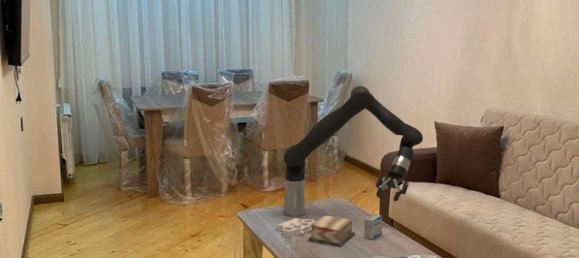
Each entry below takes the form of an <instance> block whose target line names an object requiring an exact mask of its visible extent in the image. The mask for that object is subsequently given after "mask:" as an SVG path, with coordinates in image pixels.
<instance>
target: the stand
mask: <svg viewBox="0 0 579 258" xmlns="http://www.w3.org/2000/svg"><path fill="white" fill-rule="evenodd" d="M352 226H353V220H352V219H348V218H342V217H336V216H331V215H323V216H322V217H321V218H319V219H318V220H316V221H315V223H314V224H312V230H311V236H310V237H308V242H314V243H318V244H321V245H322V244H324V245H328V246H333V247H338V248H342V247H343V246H344V245H345V244H346V243H347V242H348V241H350V240H351V239H352V238H353V237H354V236H355V235H356V233H355V232H353V227H352Z"/></svg>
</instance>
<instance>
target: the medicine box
mask: <svg viewBox="0 0 579 258" xmlns="http://www.w3.org/2000/svg"><path fill="white" fill-rule="evenodd" d="M363 222H364V228H363V229H364V231H363V233H364V235H363V237H364V238H365V239H369V240H376V238H378V237H379V236H381V235H382V234H383V216H382V215H380V214H375V213H373V214H371V215H369V216H368V217H366V218H364V221H363ZM380 234H381V235H380Z"/></svg>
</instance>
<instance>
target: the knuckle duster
mask: <svg viewBox="0 0 579 258" xmlns="http://www.w3.org/2000/svg"><path fill="white" fill-rule="evenodd" d="M315 222H316V221H315V219H312V218H304V219H302V218H298V217H294V218H292V219H290V220H286V221H284V222H282V223H279V224H276V225H275V228H276V230H277V231H279V232H282V236H283V237H285V238H294V237H297V236H303V235H305V234H307V233H311V232H312V224H314V223H315Z"/></svg>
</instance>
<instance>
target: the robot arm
mask: <svg viewBox="0 0 579 258" xmlns="http://www.w3.org/2000/svg"><path fill="white" fill-rule="evenodd" d="M363 110H367V111H368V112H370V113H371V114H372V115H373V116H374V117H375V119H377V120H378V121H379V122H380V123H381V124H382V126H384V127H385V128H386V129H387V130H388V131H390V132H392V134H394V135H395V136H402V137H401V139H400V144H399V146H398V147H399V148H398V151H397V154H396V156H395V157H394V159H393V161H392V162H391V163H392V164H391V166H390V168H389V170H388V174H387V175H386V176H383V175H380V176H379V178H378V179H377V181H376V184H375V187H376V188H377V191H376V193H375V195H376V197H377V198H378V199H379V198H381V196H382V193H383V191H384V190H386V189H388V188H389V189H394V190H396V192H395V194H394V196H393V201H394V202H397V201H398V200H399V198H400V196H401V195H406V193H407V191H408V187H409V186H410V185H409V184H410V183H409V181H408V180H407V179H405V177H406V176H407V173H408V171H409V168H410V165H411V162H412V159H413V158H414V150H413V148H414V147H415V146H417V145H421V143H422V142H423V140H424V136H423V133H422V132H421V131H420V130H419V129H417V128H416V127H415V126H412V125H410V124H408V123H406V122H404V121H403V120H402V119H401V118H400V117H398V116H397V115H396V114H395V113H393V112H391V110H389V109H388V108H387V107H385V106H384V105H383V104H382V103H381V102H379V100H378V99H376V97H375V96H374V95H373V94H372V93H371V92H370V91H369V89H368V88H367V87H365V86H363V85H362V86H361V85H358V86H355V87H354V88H353V89H352V90H351V92H350V96H349V98H348V99H347V100H346V101H345V102H344V103H343V104H342V105H341V106H339V108H337V109H335V110H333V111H331V112H330V113H328V114H326V115H325V116H324V117H322V118H321V119H319V121H318V122H317V123H316V124H315V125H314V126H313V127H312V128H311V129H310V131H308V133H307V134H305V136H304V137H303V139H301V140H300V141H299V142H298V143H296V144H292V145H289V147H288V148H286V151H285V152H284V154H283V160H284V164H285V174H284V179H285V183H284V185H285V193H284V194H283V210H284V213H283V214H285V215H288V216H290V217H299V216H303V215H304V214H306V202H305V201H306V191H305V187H306V185H305V182H306V180H305V177H306V175H305V174H306V173H305V172H306V159H307V158H308V156H310V154H312V153H313V152H314V151H315V150H316V149H317V148H319V147H320V146H322V145H323V144H325V143H326V142H327V141H329V139H331V138H332V137H333V136H334V135H335V134H336V133H338V132H339V130H341V129H342V128H343V127H344V126H345V125H346V124H347V123H349V121H350V120H352V118H354V117H355V116H357V114H359V113H361V112H362V111H363ZM400 186H402V187H400Z"/></svg>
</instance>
